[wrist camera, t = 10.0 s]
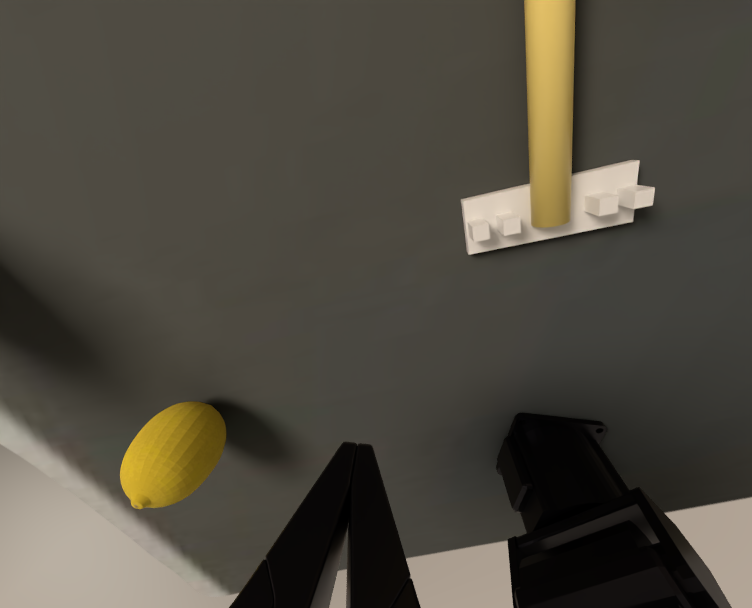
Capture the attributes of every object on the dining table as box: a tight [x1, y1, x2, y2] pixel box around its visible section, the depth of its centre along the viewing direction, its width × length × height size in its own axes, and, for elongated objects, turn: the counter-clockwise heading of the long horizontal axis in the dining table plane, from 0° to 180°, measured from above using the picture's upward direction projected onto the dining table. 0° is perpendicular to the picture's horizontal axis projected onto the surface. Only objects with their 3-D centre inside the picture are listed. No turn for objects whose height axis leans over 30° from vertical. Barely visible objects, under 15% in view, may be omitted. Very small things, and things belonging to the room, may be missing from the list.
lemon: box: [120, 402, 226, 509], centre depth 22 cm, size 6×6×8 cm
